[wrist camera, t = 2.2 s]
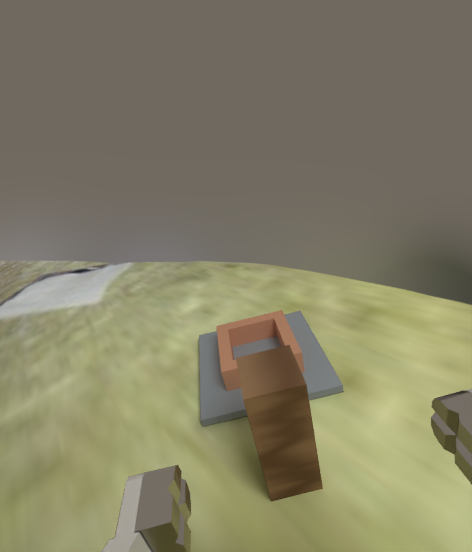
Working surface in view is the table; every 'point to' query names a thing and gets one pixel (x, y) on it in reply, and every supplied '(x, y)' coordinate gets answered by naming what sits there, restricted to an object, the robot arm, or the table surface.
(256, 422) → the wooden post
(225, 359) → the housing
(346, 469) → the table surface
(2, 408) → the table surface
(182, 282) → the table surface
